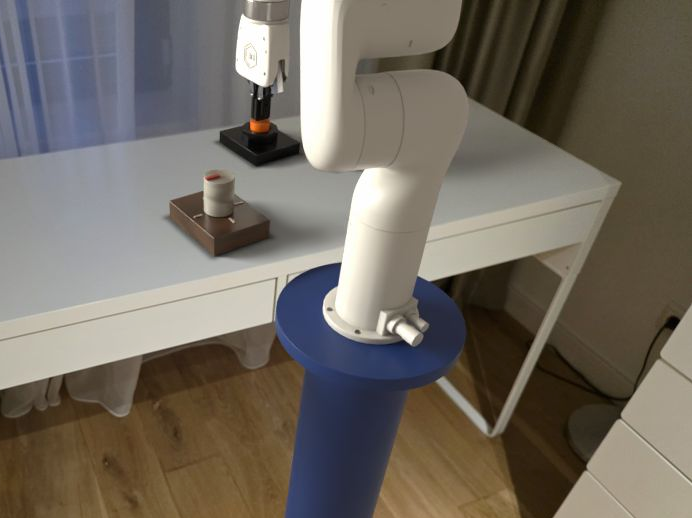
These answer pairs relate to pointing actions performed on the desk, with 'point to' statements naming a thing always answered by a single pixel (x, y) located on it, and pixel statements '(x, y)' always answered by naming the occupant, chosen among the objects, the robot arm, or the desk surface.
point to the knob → (219, 193)
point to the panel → (219, 223)
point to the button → (260, 125)
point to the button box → (259, 144)
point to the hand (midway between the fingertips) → (260, 118)
